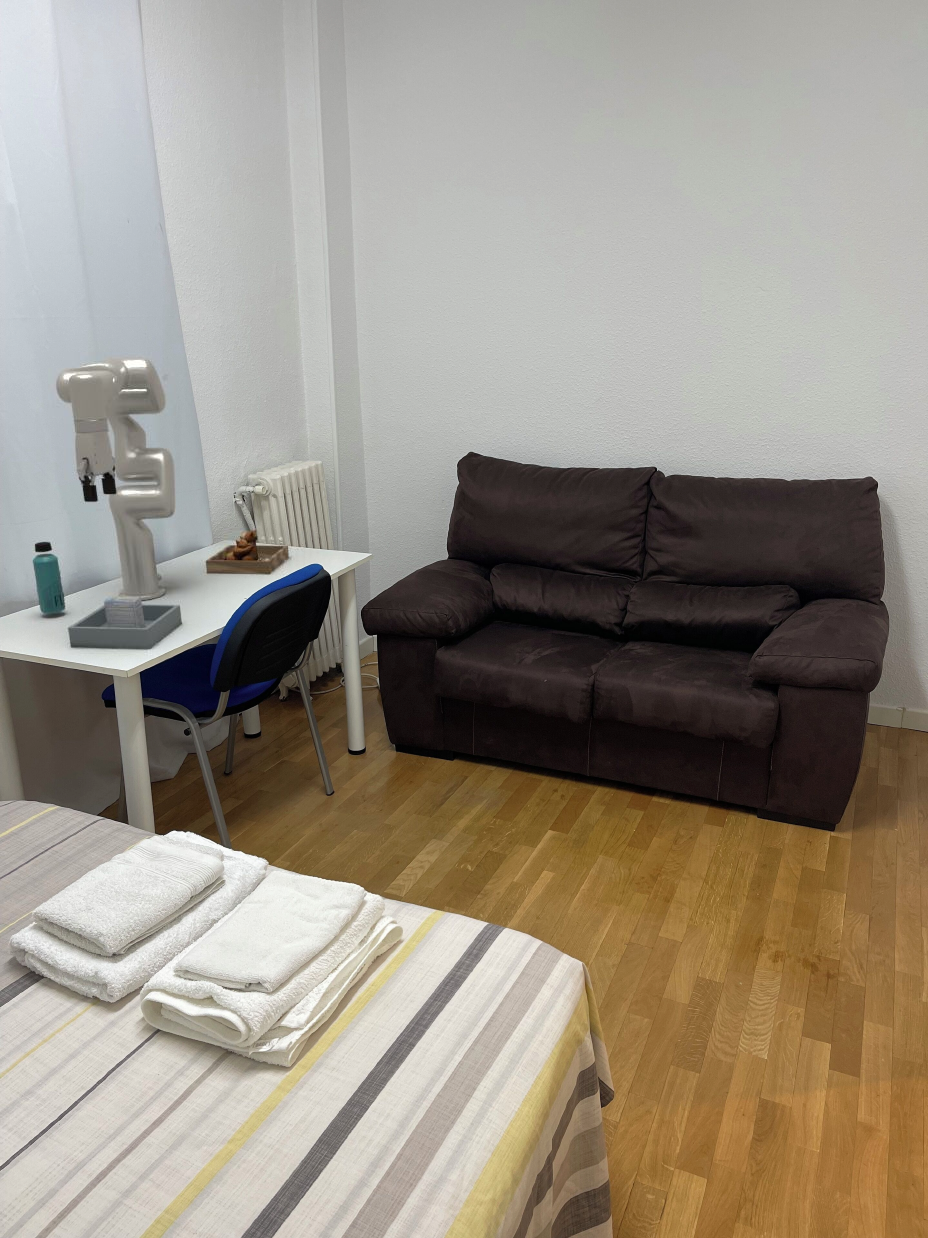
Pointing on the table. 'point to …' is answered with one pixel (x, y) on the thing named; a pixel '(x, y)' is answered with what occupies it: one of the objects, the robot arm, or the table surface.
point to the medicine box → (124, 612)
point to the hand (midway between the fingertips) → (100, 497)
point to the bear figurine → (245, 549)
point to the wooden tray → (248, 567)
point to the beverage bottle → (48, 580)
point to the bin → (125, 629)
